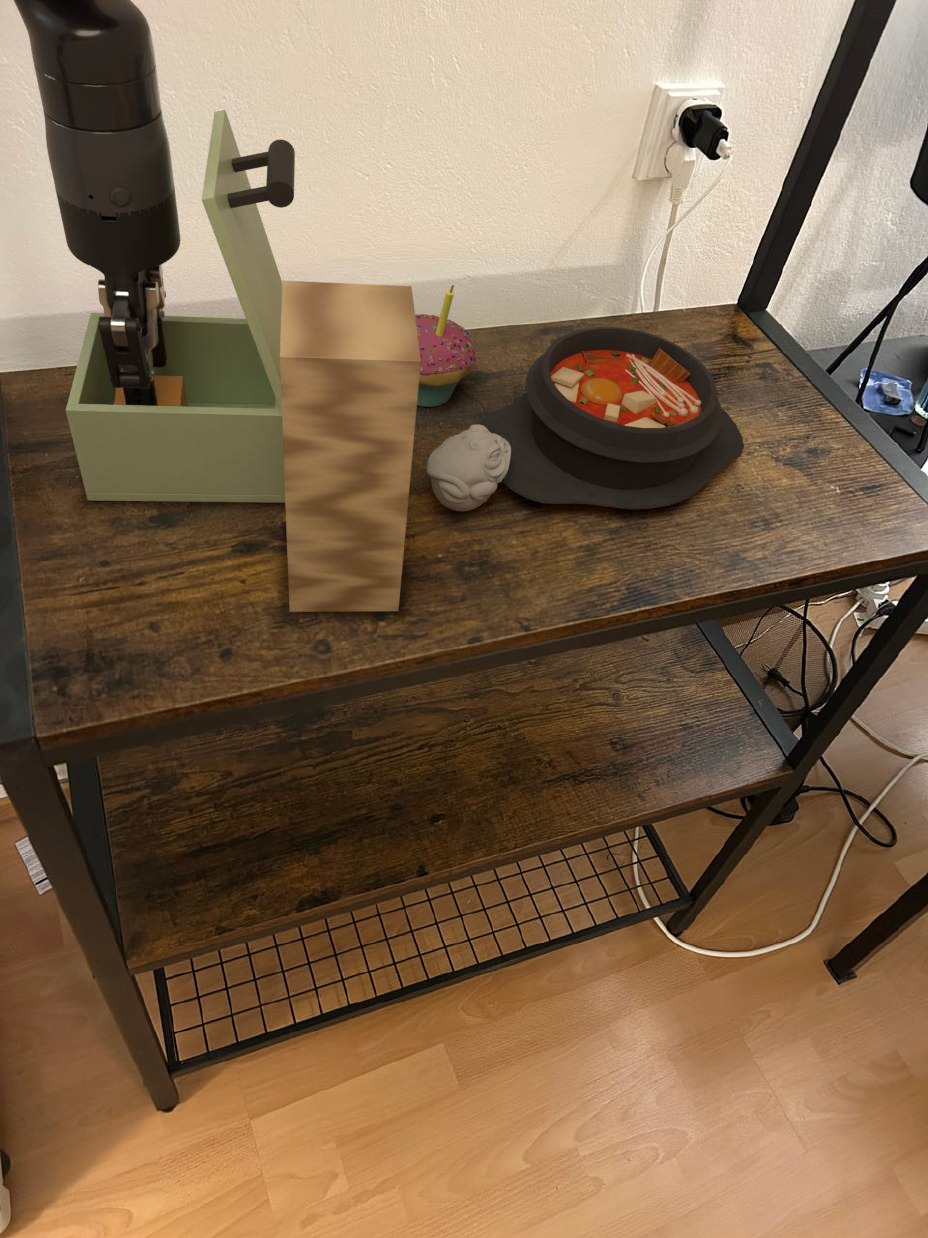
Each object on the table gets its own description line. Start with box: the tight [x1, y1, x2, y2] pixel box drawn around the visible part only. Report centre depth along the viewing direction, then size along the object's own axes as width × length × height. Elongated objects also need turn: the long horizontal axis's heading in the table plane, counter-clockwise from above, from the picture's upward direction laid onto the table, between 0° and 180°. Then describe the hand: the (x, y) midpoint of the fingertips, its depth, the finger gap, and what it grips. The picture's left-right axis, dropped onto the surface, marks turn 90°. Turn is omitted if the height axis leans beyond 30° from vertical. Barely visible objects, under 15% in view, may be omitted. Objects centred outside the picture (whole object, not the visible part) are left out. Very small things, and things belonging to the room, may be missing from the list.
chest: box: [65, 312, 285, 504], centre depth 78 cm, size 16×13×9 cm
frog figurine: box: [426, 423, 511, 512], centre depth 78 cm, size 6×7×7 cm
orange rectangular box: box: [114, 376, 188, 407], centre depth 78 cm, size 5×5×5 cm
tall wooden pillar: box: [280, 280, 421, 613], centre depth 66 cm, size 8×8×22 cm
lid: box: [201, 109, 296, 411], centre depth 69 cm, size 16×13×5 cm
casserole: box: [479, 326, 745, 510], centre depth 84 cm, size 25×19×8 cm
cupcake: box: [415, 284, 477, 408], centre depth 86 cm, size 9×8×12 cm
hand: (148, 389), depth 76 cm, fingers open, 6 cm apart
